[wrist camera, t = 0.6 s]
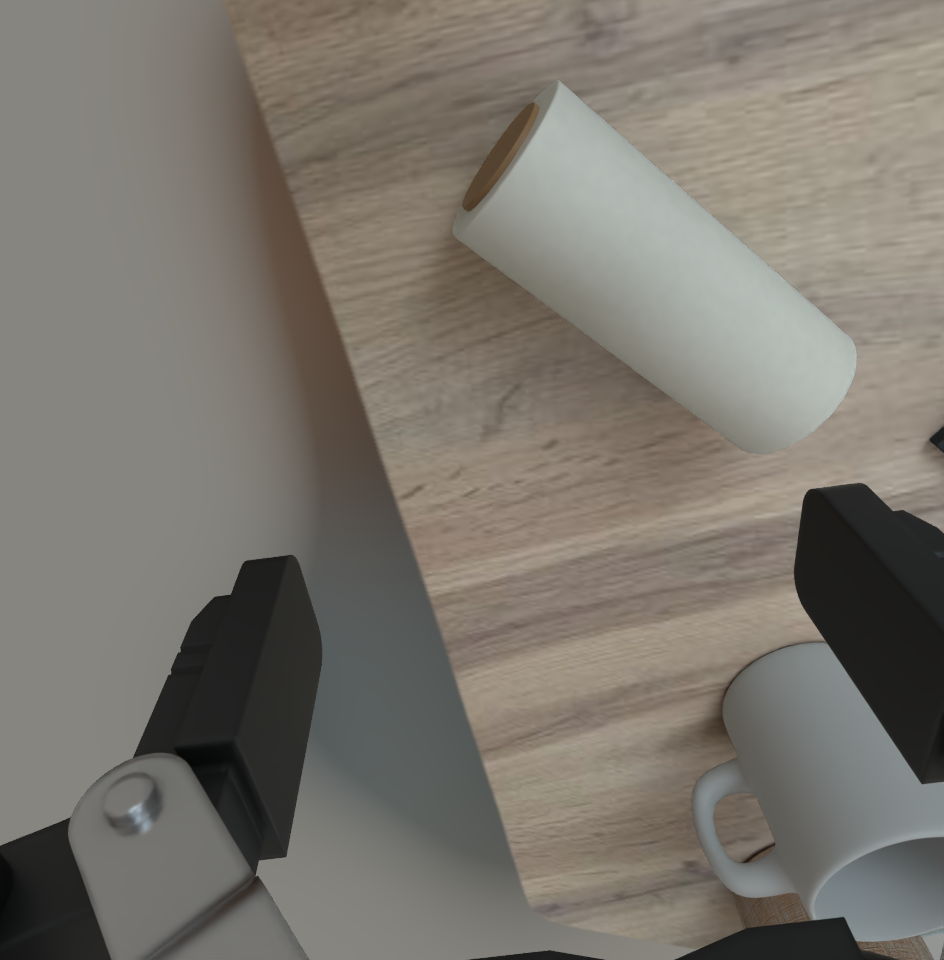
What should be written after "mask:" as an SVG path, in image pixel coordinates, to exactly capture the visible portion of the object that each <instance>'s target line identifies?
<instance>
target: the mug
mask: <svg viewBox="0 0 944 960" xmlns="http://www.w3.org/2000/svg"><path fill="white" fill-rule="evenodd" d="M722 714H723V721H724V724H725V727H726V730H727V732H728V735H729V737H730V739H731V742H732V744H733V746H734V748H735V750H736V752H737V758H735V759H732V760H730V761H728V762H725V763H723V764H721V765H718V766H716V767H714V768H712V769H710V770H709V771H707V772H706V773H704V774H703V775H702V776H701V777H700V778H699V779H698V780H697V781H696V784H695V786H694V788H693V791H692V799H691V803H692V815H693V821H694V825H695V829H696V832H697V836H698V839H699V842H700V844H701V847H702V849H703V852H704V854H705V856H706V858H707V860H708V862H709V864H710V866H711V868H712V869H713V871H714V872H715V874H716V875H717V877H718V878H719V879H720V880H721V881H722V882H723V884H724V885H725V886H726V887H727V888H728V889H729V890H731V891H733V892H734V893H736V894H737V895H740V896H744V897H749V898H761V897H770V896H776V895H781V894H786V893H797V894H798V895H799V897H800V899H801V901H802V903H803V906H804V908H805V910H806V912H807V913H808V915H809V917H810V918H811V920H820V919H829V918H838V917H845V919H846V921H847V924H848V926H849V928H850V930H851V932H852V934H853V936H854V938H855V940H856V941H862V942H878V941H890V940H898V939H903V938H908V937H912V936H916V935H920V934H924V933H927V932H930V931H933V930H936V929H938V928H941V927H943V926H944V782H938V783H929V784H921V783H920V781H919V780H918V778H917V777H916V775H915V774H914V772H913V771H912V769H911V768H910V766H909V765H908V763H907V762H906V760H905V759H904V757H903V756H902V754H901V753H900V751H899V750H898V748H897V747H896V745H895V744H894V742H893V741H892V739H891V738H890V737H889V735H888V734H887V732H886V731H885V729H884V728H883V726H882V725H881V723H880V722H879V720H878V719H877V717H876V716H875V714H874V713H873V711H872V710H871V708H870V707H869V705H868V704H867V702H866V701H865V699H864V698H863V696H862V695H861V693H860V692H859V690H858V689H857V687H856V686H855V684H854V683H853V681H852V680H851V678H850V677H849V675H848V674H847V672H846V671H845V669H844V668H843V666H842V665H841V663H840V662H839V660H838V659H837V657H836V656H835V654H834V653H833V651H832V650H831V648H830V647H829V645H828V644H827V643H804V644H797V645H793V646H788V647H785V648H782V649H779V650H776V651H774V652H771V653H769V654H767V655H765V656H763V657H761V658H759V659H758V660H756V661H755V662H753V663H752V664H750V665H749V666H748V667H747V668H745V669H744V670H743V671H742V672H741V673H740V674H739V675H738V676H737V677H736V678H735V680H734V681H733V682H732V683H731V685H730V687H729V688H728V690H727V693H726V695H725V698H724V701H723V706H722ZM735 793H751V794H753V795H754V796H755V797H756V798H757V800H758V802H759V805H760V807H761V809H762V811H763V813H764V816H765V818H766V820H767V823H768V825H769V827H770V830H771V832H772V835H773V837H774V840H775V848H774V849H773V850H772V851H771V852H770V853H769V854H767V855H766V856H764V857H763V858H761V859H759V860H757V861H754V862H751V863H739V862H736V861H734V860H732V859H731V858H730V857H729V856H728V855H727V854H726V852H725V851H724V849H723V848H722V846H721V844H720V842H719V840H718V837H717V834H716V831H715V826H714V815H713V814H714V808H715V806H716V804H717V803H718V802H719V801H720V800H721V799H722V798H724V797H726V796H728V795H731V794H735Z"/></svg>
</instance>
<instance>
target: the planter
mask: <svg viewBox="0 0 944 960" xmlns="http://www.w3.org/2000/svg"><path fill="white" fill-rule="evenodd" d="M774 848H775V845H773V846H771V847H769V848H767V849H766V850H764V851H762V852H760V853H759V854H757V855H756V856H754V857H753V858H752V859H750V860H749V861H748V862H747V863H751V862H754V861H757V860H759V859H761V858H763V857H764V856H766V855H767V854H769V853H770V852H771V851H772V850H773V849H774ZM733 896H734V899H735V903H736V906H737V909H738V913H739V916H740V919H741V922H742V924H743V927H744V929H746V928H750V927H759V926H768V925H776V924H785V923H794V922H803V921H811V918H810V917H809V915H808V913H807V912H806V910H805V908H804V906H803V903H802V901H801V899H800V897H799V895H798V894H797V893H786V894H781V895H776V896H770V897H761V898H749V897H744V896H740V895H737V894H736V893H734V892H733ZM856 942H857V945H858V947H859V949H860V950H866V951H871V952H874V953H878V954H881V955H885V956H888V957H892V958H895V959H898V960H934V959H933V957H932V955H931V953H930V951H929V949H928V948H927V946H926V944H925V942H924V940H923V938H922V937H921V935H916V936H912V937H908V938H903V939H898V940H890V941H878V942H862V941H856Z"/></svg>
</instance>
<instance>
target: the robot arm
mask: <svg viewBox="0 0 944 960" xmlns="http://www.w3.org/2000/svg"><path fill="white" fill-rule="evenodd" d="M794 579H795V586H796V590H797V594H798V597H799V599H800V602H801V604H802V606H803V608H804V609H805V611H806V612H807V614H808V615H809V617H810V618H811V620H812V621H813V623H814V624H815V626H816V627H817V629H818V630H819V632H820V633H821V635H822V636H823V638H824V639H825V641H826V642H827V644H828V645H829V647H830V648H831V650H832V651H833V653H834V654H835V656H836V657H837V659H838V660H839V662H840V663H841V665H842V666H843V668H844V669H845V671H846V672H847V674H848V675H849V677H850V678H851V680H852V681H853V683H854V684H855V686H856V687H857V689H858V690H859V692H860V693H861V695H862V696H863V698H864V699H865V701H866V702H867V704H868V705H869V707H870V708H871V710H872V711H873V713H874V714H875V716H876V717H877V719H878V720H879V722H880V723H881V725H882V726H883V728H884V729H885V731H886V732H887V734H888V735H889V737H890V738H891V739H892V741H893V742H894V744H895V745H896V747H897V748H898V750H899V751H900V753H901V754H902V756H903V757H904V759H905V760H906V762H907V763H908V765H909V766H910V768H911V769H912V771H913V772H914V774H915V775H916V777H917V778H918V780H919V781H920V783H921V784H929V783H938V782H944V533H942V532H941V531H940V530H939V529H938V528H937V527H935V526H933V525H931V524H929V523H927V522H925V521H923V520H921V519H919V518H917V517H915V516H913V515H911V514H910V513H908V512H906V511H904V510H900V511H892V510H891V509H890V508H889V507H888V506H887V505H886V504H885V503H884V502H883V501H882V500H881V499H880V498H879V497H878V496H877V495H876V494H875V493H874V492H873V491H872V490H871V489H870V488H869V487H868V486H866V485H865V484H863V483H854V484H847V485H839V486H831V487H824V488H816V489H810V490H808V492H807V493H806V495H805V497H804V500H803V505H802V513H801V520H800V528H799V535H798V543H797V551H796V558H795V566H794ZM321 643H322V642H321V636H320V630H319V626H318V623H317V619H316V616H315V613H314V610H313V607H312V604H311V600H310V597H309V594H308V591H307V587H306V584H305V581H304V578H303V575H302V572H301V568H300V565H299V563H298V561H297V559H296V557H294V556H293V555H287V556H280V557H273V558H264V559H256V560H249V561H245V562H244V563H243V565H242V567H241V569H240V572H239V574H238V577H237V580H236V582H235V585H234V588H233V591H232V593H231V595H225V596H218V597H214V598H213V599H212V600H211V601H210V602H209V603H208V604H207V605H206V606H205V608H204V609H203V610H202V611H201V612H200V613H199V614H198V615H197V616H196V617H195V618H194V619H193V621H192V622H191V624H190V626H189V628H188V631H187V633H186V635H185V638H184V640H183V643H182V645H181V647H180V648H181V652H180V653H178V654H177V656H176V659H175V661H174V663H173V666H172V668H171V675H168V677H167V680H166V682H165V684H164V687H163V689H162V691H161V694H160V696H159V699H158V701H157V703H156V705H155V708H154V710H153V712H152V715H151V717H150V719H149V722H148V724H147V726H146V729H145V731H144V733H143V736H142V738H141V740H140V743H139V745H138V747H137V750H136V752H135V754H134V757H133V758H132V759H130V760H128V761H125V762H123V763H121V764H120V765H118V766H116V767H114V768H113V769H111V770H110V771H108V772H107V773H105V774H104V775H103V776H102V777H100V778H99V779H98V780H97V781H96V782H95V783H94V784H93V785H92V786H91V787H90V788H89V789H88V790H87V791H86V792H85V794H84V795H83V796H82V797H81V799H80V801H79V802H78V804H77V805H76V807H75V809H74V811H73V814H72V816H71V817H70V818H68V819H66V820H63V821H61V822H59V823H57V824H54V825H51V826H49V827H46V828H44V829H41V830H39V831H36V832H34V833H32V834H29V835H26V836H24V837H21V838H19V839H16V840H13V841H11V842H8V843H6V844H3V845H1V846H0V960H309V958H308V957H307V955H306V953H305V952H304V950H303V948H302V947H301V945H300V944H299V942H298V940H297V938H296V937H295V935H294V933H293V932H292V930H291V929H290V927H289V925H288V923H287V922H286V920H285V919H284V917H283V915H282V914H281V912H280V910H279V908H278V907H277V905H276V904H275V902H274V900H273V898H272V897H271V895H270V894H269V892H268V890H267V889H266V887H265V886H264V884H263V883H262V881H261V880H260V878H259V877H258V876H257V877H256V876H255V875H256V871H257V866H258V862H259V860H266V859H274V858H283V857H286V856H287V850H288V845H289V839H290V833H291V828H292V823H293V818H294V812H295V807H296V801H297V795H298V790H299V785H300V780H301V774H302V769H303V763H304V758H305V753H306V747H307V742H308V737H309V731H310V726H311V720H312V714H313V709H314V704H315V699H316V693H317V688H318V682H319V676H320V671H321V666H322V644H321ZM471 960H603V959H597V958H591V957H585V956H579V955H573V954H567V953H561V952H555V951H550V950H549V951H542V952H532V953H523V954H514V955H506V956H497V957H488V958H480V959H471ZM675 960H898V959H895V958H892V957H888V956H885V955H881V954H878V953H874V952H871V951H866V950H860V949H859V947H858V945H857V942H856V940H855V938H854V936H853V934H852V932H851V930H850V928H849V926H848V924H847V921H846V919H845V917H838V918H829V919H820V920H811V921H803V922H794V923H785V924H776V925H768V926H759V927H750V928H746V929H744V930H741V931H739V932H737V933H735V934H732V935H730V936H728V937H725V938H723V939H721V940H719V941H716V942H714V943H712V944H709V945H707V946H705V947H703V948H700V949H698V950H696V951H694V952H691V953H689V954H687V955H685V956H682V957H680V958H678V959H675ZM940 960H944V945H943V949H942V953H941V957H940Z"/></svg>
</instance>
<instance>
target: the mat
mask: <svg viewBox="0 0 944 960" xmlns="http://www.w3.org/2000/svg"><path fill="white" fill-rule="evenodd" d="M930 441H931V442H932V443H933V444H934V445H936V446H937V447H938V448H939V449H940V450H941V451H943V452H944V427H943V428H942V429H941V430H940V431H939V432H938V433H937V434H935V435H934V436H933V437H932V438H931V439H930Z"/></svg>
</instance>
